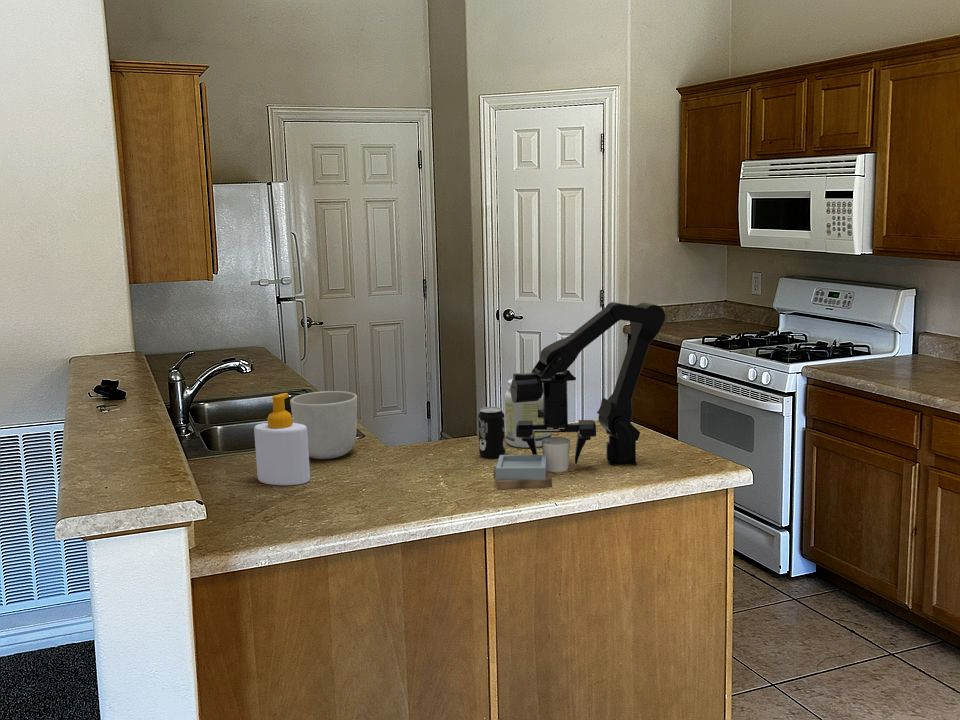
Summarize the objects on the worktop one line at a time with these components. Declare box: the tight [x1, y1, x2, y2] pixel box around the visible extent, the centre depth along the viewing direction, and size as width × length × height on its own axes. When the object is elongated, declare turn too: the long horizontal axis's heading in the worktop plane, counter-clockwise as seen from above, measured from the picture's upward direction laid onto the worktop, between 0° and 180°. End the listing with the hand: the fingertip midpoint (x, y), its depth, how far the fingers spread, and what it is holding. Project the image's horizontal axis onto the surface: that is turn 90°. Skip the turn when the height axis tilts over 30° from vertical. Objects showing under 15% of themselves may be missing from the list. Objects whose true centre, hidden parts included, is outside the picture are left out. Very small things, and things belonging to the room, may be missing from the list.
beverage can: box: [477, 406, 506, 459], centre depth 225 cm, size 7×7×12 cm
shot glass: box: [541, 436, 571, 473], centre depth 212 cm, size 7×7×7 cm
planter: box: [289, 390, 358, 460], centre depth 229 cm, size 17×17×15 cm
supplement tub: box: [504, 378, 553, 449], centre depth 235 cm, size 12×12×17 cm
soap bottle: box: [253, 392, 311, 486], centre depth 208 cm, size 13×8×20 cm, turn 71°
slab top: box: [495, 454, 547, 481], centre depth 204 cm, size 11×11×3 cm
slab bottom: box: [493, 466, 553, 490], centre depth 204 cm, size 12×12×2 cm
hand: (556, 463), depth 212 cm, fingers open, 9 cm apart
